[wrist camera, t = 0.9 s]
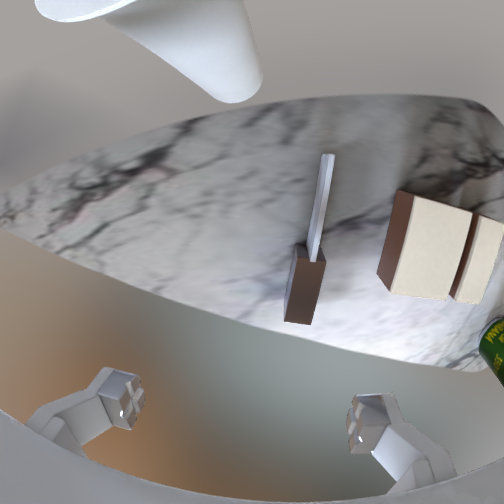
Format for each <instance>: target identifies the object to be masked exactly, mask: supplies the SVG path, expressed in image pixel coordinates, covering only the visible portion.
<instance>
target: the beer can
mask: <svg viewBox="0 0 504 504" xmlns="http://www.w3.org/2000/svg"><path fill="white" fill-rule="evenodd" d="M478 350H479V353H480V355H481V356H482V357H483V359H484V360H485V361H486V363H487V364H488V365H489V367H490V368H491V369H492V371H493V372H494V374H495V375H496V376H497V378H498V379H499V381H500V382H501V384H502V385H503V386H504V319H503V318H497V319H494V320H492V321H491V322H490V323H489V324H488V325H487V326H486V327H485V328H484V329H483V331H482V333H481V335H480V336H479V340H478Z"/></svg>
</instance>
